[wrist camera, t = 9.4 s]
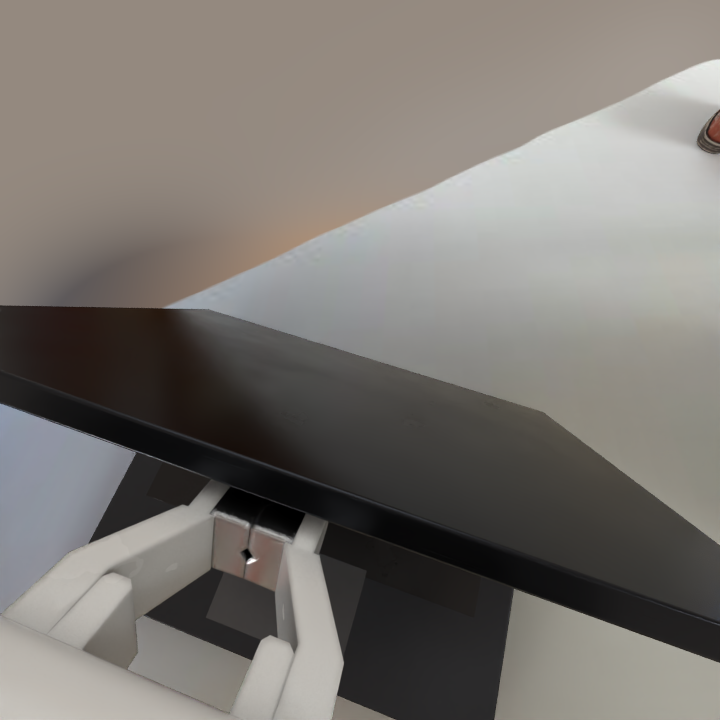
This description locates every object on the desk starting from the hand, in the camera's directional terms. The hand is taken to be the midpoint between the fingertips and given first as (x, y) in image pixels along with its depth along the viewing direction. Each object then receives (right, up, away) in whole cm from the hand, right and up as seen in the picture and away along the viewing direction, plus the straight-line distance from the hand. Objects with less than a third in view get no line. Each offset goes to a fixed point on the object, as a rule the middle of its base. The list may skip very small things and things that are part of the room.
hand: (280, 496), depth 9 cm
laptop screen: (+1, +2, +7) cm, 7 cm away
